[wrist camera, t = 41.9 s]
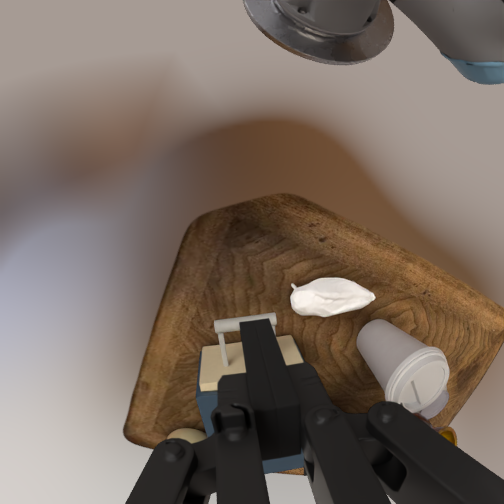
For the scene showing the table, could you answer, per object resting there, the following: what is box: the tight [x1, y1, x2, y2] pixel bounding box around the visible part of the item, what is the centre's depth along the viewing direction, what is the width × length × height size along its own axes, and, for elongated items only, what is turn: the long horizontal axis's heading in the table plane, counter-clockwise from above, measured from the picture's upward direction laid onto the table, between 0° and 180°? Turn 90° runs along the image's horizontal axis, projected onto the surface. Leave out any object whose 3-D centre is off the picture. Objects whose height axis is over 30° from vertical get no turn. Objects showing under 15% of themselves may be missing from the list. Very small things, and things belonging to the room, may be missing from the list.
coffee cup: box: [357, 319, 449, 413], centre depth 36 cm, size 10×10×15 cm
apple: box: [167, 428, 208, 444], centre depth 41 cm, size 9×9×8 cm
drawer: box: [199, 313, 303, 392], centre depth 37 cm, size 23×12×9 cm, turn 6°
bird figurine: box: [290, 278, 376, 317], centre depth 38 cm, size 5×7×10 cm
